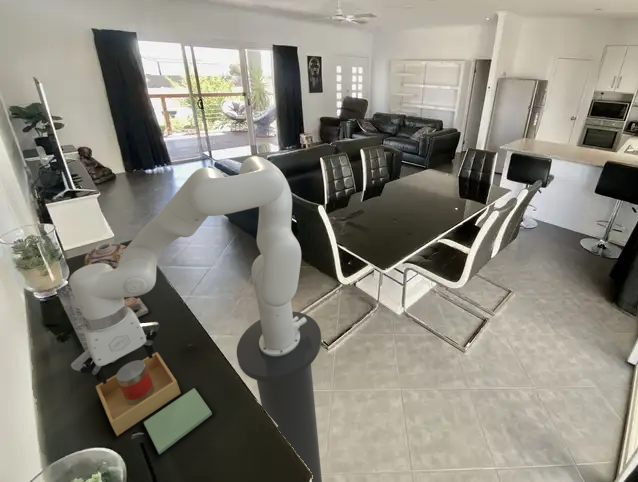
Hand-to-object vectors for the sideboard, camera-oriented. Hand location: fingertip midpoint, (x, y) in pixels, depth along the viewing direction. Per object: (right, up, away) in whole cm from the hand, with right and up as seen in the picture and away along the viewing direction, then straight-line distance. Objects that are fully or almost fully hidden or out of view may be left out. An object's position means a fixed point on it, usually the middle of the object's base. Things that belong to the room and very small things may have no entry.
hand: (127, 367), depth 81 cm
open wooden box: (0, -10, +5) cm, 11 cm away
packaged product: (-27, +1, +29) cm, 40 cm away
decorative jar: (-39, +8, +46) cm, 61 cm away
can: (0, -9, +4) cm, 10 cm away
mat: (+13, -13, -1) cm, 19 cm away
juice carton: (-18, -4, +18) cm, 25 cm away
